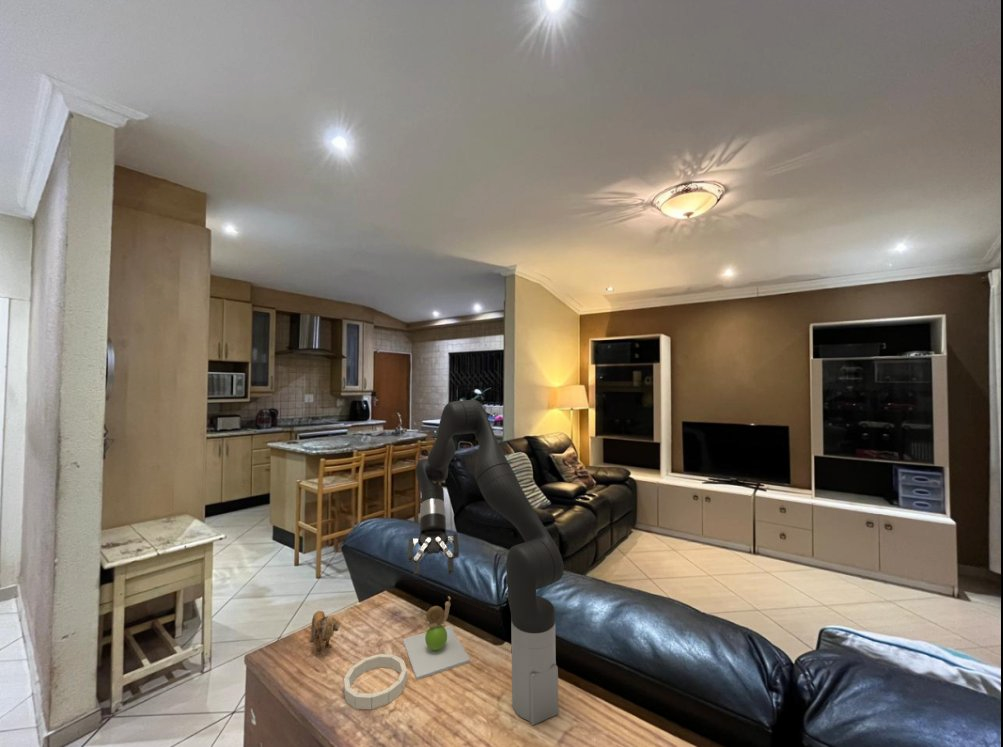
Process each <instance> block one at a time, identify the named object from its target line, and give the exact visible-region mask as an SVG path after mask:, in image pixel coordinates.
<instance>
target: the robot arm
mask: <svg viewBox="0 0 1003 747" xmlns="http://www.w3.org/2000/svg"><path fill="white" fill-rule="evenodd" d="M436 432H437V433H436V437H435V441H434V443H433V445H432V447H431V449H430V451H429V453H428V456H427V458H423V459H420V460H418V462H417V463H416V466H415V475H416V479H417V483H418V485H419V489H420V511H419V513H420V516H419V523H420V524H419V537H418V538H414V537H413V536H411V537H409V538H408V544H407V546H408V547H407V555H406V556H407V562H409V563H412V564H413V575H414V576H415V577H416V578H420V561H421V560H422V558H423V557H424V556H425V554H427V555H431V554H440V553H442V555H443V556H445V557H446V559H447V574H448V576H449V575H451V574H452V573H453V572H454V559H457V558H459V556H460V549H459V539H458V534H457V533H454V534H453V535H449V536H448V534H447V521H446V520H447V519H446V517H447V515H446V507H445V491H444V487H443V486H442V485H440V484H438V483H443V482H445V481H446V479H447V478H448V475H449V465H450V463H451V461H452V460H453V458H454V456H455V453H456V444H455V441H454V439H453V437H454V436H457V435H460V436H461V435H466V434H473V435H474V436H475V438H476V441H477V442H478V452H477V453H478V454H477V457H476V461H475V465H474V466H475V468H474V477H475V481H476V483H477V486H478V488H479V490H480V493H481V495H482V497H483V499H484V500H485V502H486V503H487V505H488V506H490V507H491V508H492V509H493V510H494V511H496V512H497V513H498V514H500V515H501V516H503V518H504V519H506V520H507V521H509V522H510V523H511V524H512V525H513V526H514V527H515V529H517V531H518V532H519V534H520V535H521V536H522V539H523V540H524V542H521V543H519V544H515V545H513V546H511V547H510V548H509V550H508V552H507V556H506V562H505V563H506V565H505V566H506V567H505V568H506V582H507V599H508V605H509V611H510V616H511V617H510V620H511V623H510V624H511V625H510V626H511V642H510V643H511V644H510V645H511V704H512V705H511V706H512V708H513V710H514V712H515V714H517V715H518V717H520V718H521V719H524V720H526V721H528V722H529V723H530V724H531V725H533V726H535V725H536V724H540V722H543V721H546V720H548V719H550V718H553V717H554V716H557V715H559V671H558V670H559V668H558V665H557V661H556V659H557V658H556V656H557V655H556V609H555V606H554V605H553V603H552V602H551V601H550V600H548V599H547V598H545V597H543V596H539V595H537V591H538V590H540V589H543V588H545V587H547V586H550V585H554V584H556V583H557V582H559V581H560V580H561V579H562V578H563V576H564V571H565V568H564V567H565V565H564V561H563V558H562V554H561V553H560V550H559V547H558V546H557V544H556V543H555V541H554V539H553V538H552V536H551V535H550V533H549V531H548V530H547V528H546V527H545V525H544V524H543V522H542V521H541V519H540V518H539V516H538V515H537V513H536V512H535V510H534V508H533V506H532V504H531V502H530V501H529V499H528V497H527V494H525V491H524V490H523V488H522V486H521V484H520V482H519V480H518V478H517V475H516V473H515V471H514V470H513V468H512V466H511V464H510V463H509V461H508V459H507V457H506V456H505V453H504V451H503V449H502V448H501V446H500V444H499V441H498V439H497V437H496V435H495V432H494V429H493V428H492V425H491V422H490V420H489V417H488V415H487V412H486V410H485V408H484V407H483V405H482V404H481V402H480V401H478V400H476V399H468V400H466V399H465V400H456V401H454V400H453V401H449V402H448V403H446V404H445V406H444V407H443V410H442V412H441V416H440V419H439V423H438V429H437V431H436ZM448 542H450V544H451V545H453V552H452V551H451V550H450V549H449V547H448V546H447V544H448ZM417 544H418V546H420V548H419V549H418V551H417V553H416V554H415V555H413V551H414V548H415V547H416V545H417Z"/></svg>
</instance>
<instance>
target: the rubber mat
mask: <svg viewBox="0 0 1003 747" xmlns="http://www.w3.org/2000/svg"><path fill="white" fill-rule="evenodd" d="M443 627H444V628H445V630H446V632H447V641H446V643H445V645H444V646H443V647H442V648H441V649H439V650H431V649H430V648H429V647H428V646H427V644H426V641H425V636H426V633H427V631H426V632H422V633H419V634H415V635H412V636H409V637H404V638H402V643H403V642H404V643H403V646H404V645H405V646H404V648H406V649H405V652H406V651H407V652H406V654H408V655H407V658H408V660H409V662H410V665H411V668H412V669H411V670H412V671H413V674H414V677H415V680H416V681H418V680H421V679H424V678H426V677H430V676H434V675H436V674H438V673H441V672H442V673H443V672H445V671H448V670H450V669H454V668H456V667H459V666H463V665H466V664H469V663H471V658H470V657H469V654H468V653H467V652H466V649H465V648H464V646H463V645H462V642H461V641H460V639H459V638H458V636H457V634H456V632H455V630H454V629H453V627H452V625H447V626H443Z"/></svg>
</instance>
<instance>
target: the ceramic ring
mask: <svg viewBox="0 0 1003 747" xmlns="http://www.w3.org/2000/svg"><path fill="white" fill-rule="evenodd" d="M377 668H385V669H387V668H389V669H392V670H395V671H396V672H398V673H399V677H398V679H397V680H396V681H395V682H394V683H392V684H391V685H390V686H389V687H388V688H386V689H384V690H380V691H377V692H374V693H364V692H363V693H361V692H358V691H357V690H355V689H353V688H352V687H351V686H352V685H353V683H354V682H355V680H356V679H357V678H359V677H360V676H361V675H363V674H364V673H366V672H368V671H371V670H375V669H377ZM407 673H408V670H407V666H406V663H405V661H404V659H402V658H401V657H399V656H397V655H395V654H392V653H391V654H387V653H378V654H374V655H372V656H368V657H365V658H363V659H362V660H360V661H358V662H357V663H355V664H353V665H352V666H351V667H350V668H349V670H348V671H347V673H346V675H345V676H344V678H343V694H344V701H345V703H347V704H348V705H350V707H353V709H355V710H374V709H378V708H380V707H383V706H386V705H389V704H390V703H392V702H393V701H394V700H395V699H396V698H398V697H399V696H400V695H402V693H403V692H404V691H403V690H404V688H405V687H406V684H407V682H408V681H407V680H408V674H407Z"/></svg>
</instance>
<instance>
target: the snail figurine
mask: <svg viewBox="0 0 1003 747" xmlns="http://www.w3.org/2000/svg"><path fill="white" fill-rule="evenodd" d="M447 599H448V601H445V603H444V606H445V607H444V609H443V608H442V607H441V606H439V605H434V606H431V607H430V608H428V610H427V612H426V614H425V618H426V619H425V620H426V621H427V622H428V623H426V627H427V628H428V629H427V631H426V632H427V633H426V636H425V641H426V644H427V646H428V647H429V648H430V649H431V650H439V649H441V648H442V647H443V646H444V645H445V643H446V641H447V632H446V630H445V628H444V627H445V626H443V624H445V622H446V621H447V619H448V617H449V612H450V607H451V597H450V596H447Z"/></svg>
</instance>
